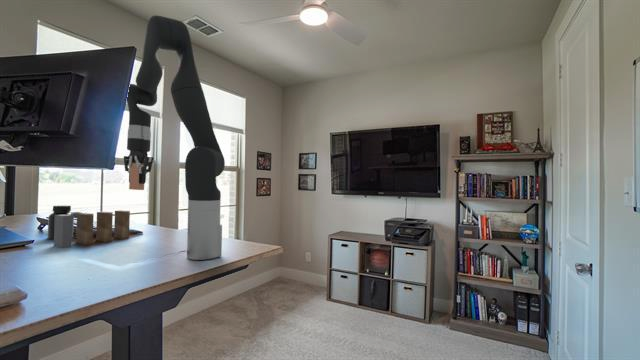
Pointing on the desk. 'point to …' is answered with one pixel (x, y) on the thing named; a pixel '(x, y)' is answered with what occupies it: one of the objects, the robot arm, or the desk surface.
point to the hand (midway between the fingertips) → (137, 183)
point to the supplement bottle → (51, 220)
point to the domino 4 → (135, 178)
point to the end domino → (63, 231)
